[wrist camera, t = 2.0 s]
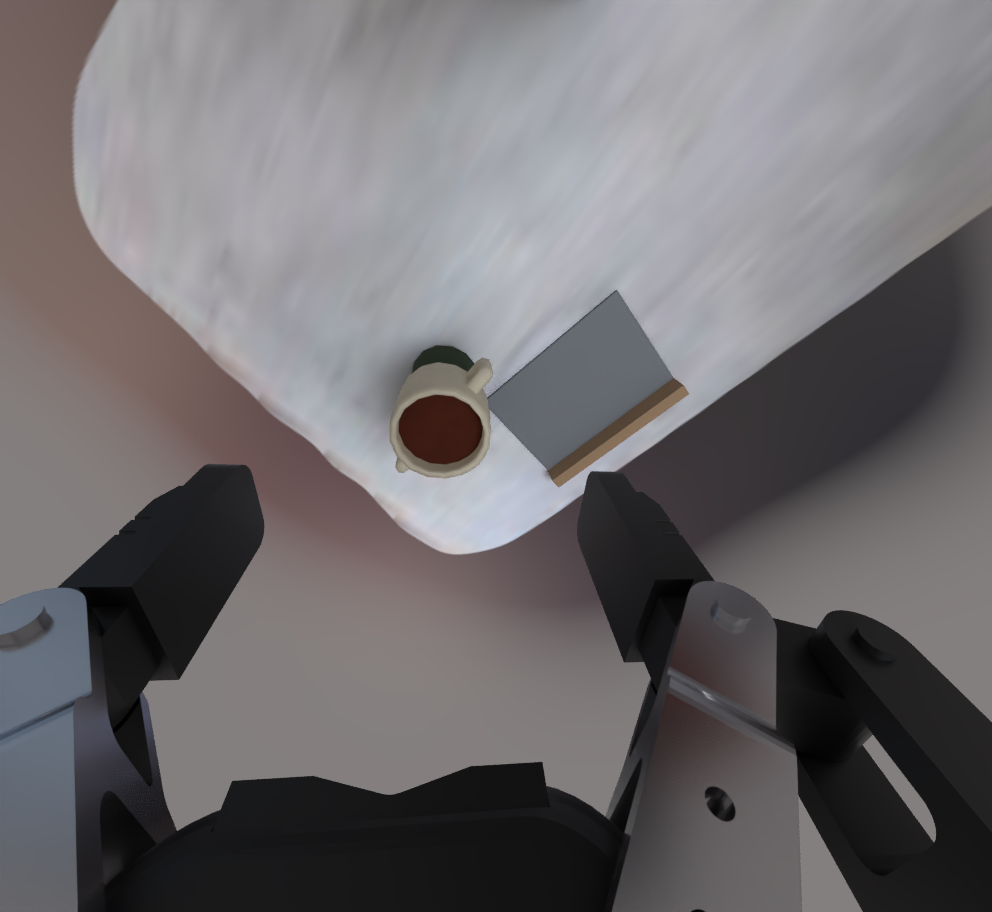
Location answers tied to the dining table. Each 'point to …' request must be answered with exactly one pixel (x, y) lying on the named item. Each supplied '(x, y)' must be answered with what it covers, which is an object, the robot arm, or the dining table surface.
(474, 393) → the character mug
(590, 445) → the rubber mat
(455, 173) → the dining table surface
